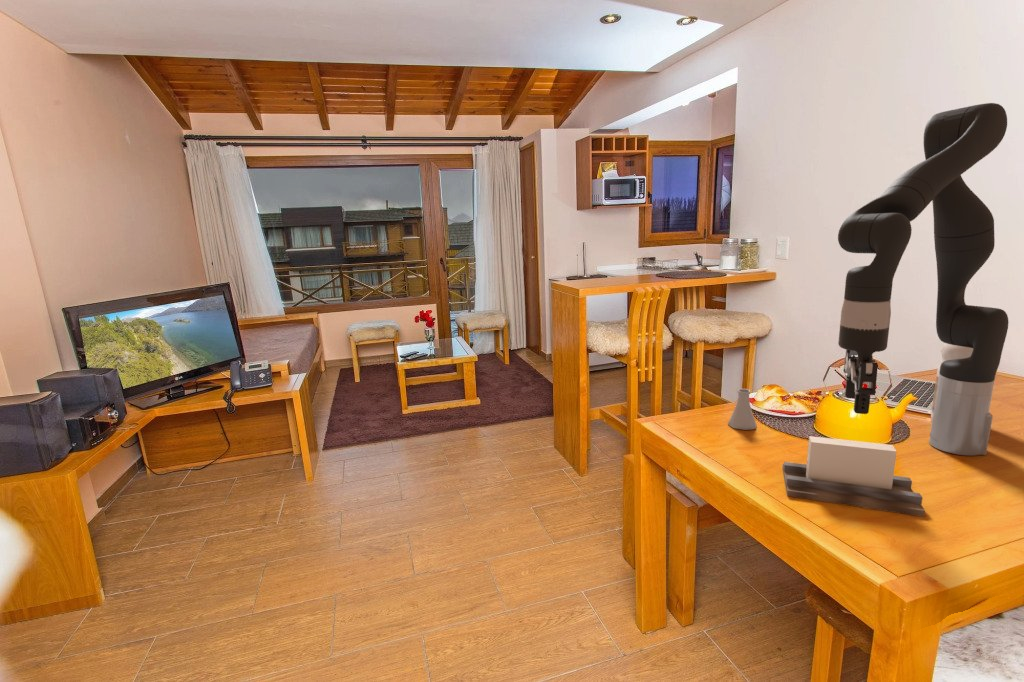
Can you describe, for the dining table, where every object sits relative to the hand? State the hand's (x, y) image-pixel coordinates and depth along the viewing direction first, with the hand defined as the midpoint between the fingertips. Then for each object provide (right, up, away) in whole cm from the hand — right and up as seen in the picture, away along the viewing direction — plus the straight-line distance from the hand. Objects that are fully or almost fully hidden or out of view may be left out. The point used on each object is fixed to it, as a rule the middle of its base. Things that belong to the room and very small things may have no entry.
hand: (855, 405), depth 96 cm
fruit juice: (+48, -9, +32) cm, 58 cm away
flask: (-5, -11, +38) cm, 39 cm away
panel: (+1, -17, +4) cm, 17 cm away
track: (+1, -18, +4) cm, 18 cm away
